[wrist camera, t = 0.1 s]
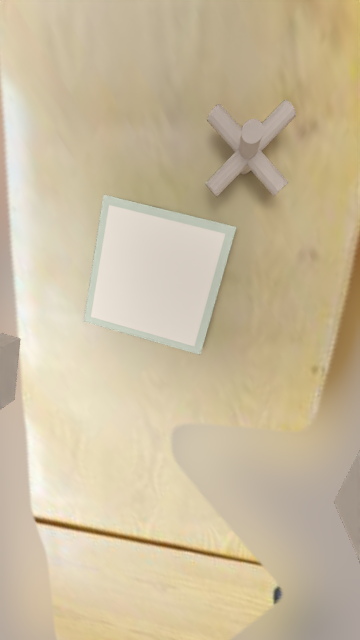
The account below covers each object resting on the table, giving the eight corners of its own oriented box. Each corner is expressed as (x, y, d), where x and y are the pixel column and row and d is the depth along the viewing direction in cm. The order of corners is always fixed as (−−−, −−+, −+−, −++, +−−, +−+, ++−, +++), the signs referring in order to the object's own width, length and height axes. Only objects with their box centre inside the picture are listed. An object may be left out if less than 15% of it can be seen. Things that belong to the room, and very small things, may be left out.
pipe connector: (308, 164, 32) (343, 127, 23) (240, 229, 35) (246, 221, 25) (249, 95, 31) (259, 27, 22) (184, 167, 34) (168, 134, 25)
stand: (113, 198, 36) (102, 193, 33) (235, 228, 35) (236, 226, 32) (93, 316, 41) (82, 321, 37) (202, 347, 39) (200, 355, 36)
